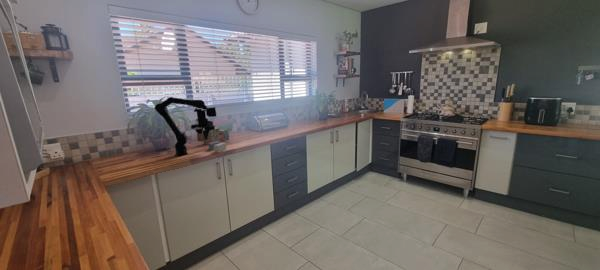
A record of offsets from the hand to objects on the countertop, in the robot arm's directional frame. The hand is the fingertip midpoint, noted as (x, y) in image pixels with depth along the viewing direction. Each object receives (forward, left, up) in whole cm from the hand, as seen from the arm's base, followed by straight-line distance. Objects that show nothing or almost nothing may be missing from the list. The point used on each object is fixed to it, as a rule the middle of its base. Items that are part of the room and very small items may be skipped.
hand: (204, 138), depth 182 cm
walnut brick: (0, 0, -1) cm, 1 cm away
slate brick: (+10, +1, -10) cm, 14 cm away
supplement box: (-4, +37, -10) cm, 39 cm away
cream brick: (+8, -7, -10) cm, 15 cm away
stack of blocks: (+27, +17, -11) cm, 33 cm away
